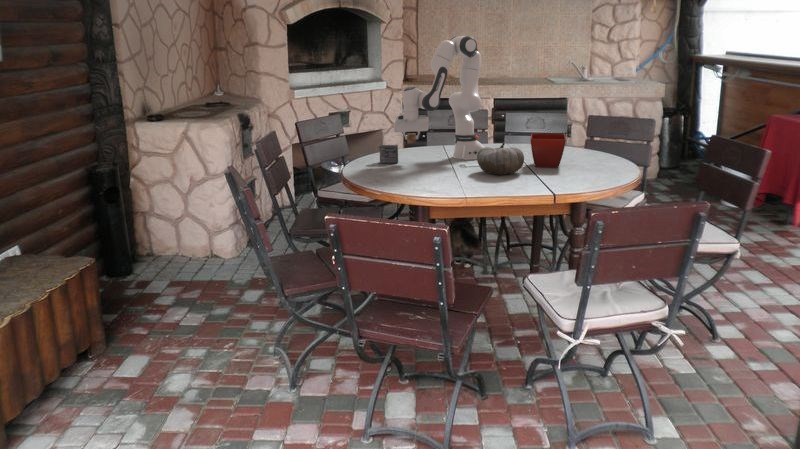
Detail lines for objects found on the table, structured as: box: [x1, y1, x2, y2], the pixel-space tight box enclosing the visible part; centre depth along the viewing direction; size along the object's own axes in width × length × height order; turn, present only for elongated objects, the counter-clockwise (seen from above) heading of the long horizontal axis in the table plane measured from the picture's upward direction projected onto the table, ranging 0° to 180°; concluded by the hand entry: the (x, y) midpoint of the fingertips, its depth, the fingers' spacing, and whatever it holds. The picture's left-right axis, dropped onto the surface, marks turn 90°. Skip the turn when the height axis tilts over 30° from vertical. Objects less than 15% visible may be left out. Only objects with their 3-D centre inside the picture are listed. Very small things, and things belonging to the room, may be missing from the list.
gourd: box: [476, 142, 525, 176], centre depth 376 cm, size 25×25×17 cm
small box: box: [378, 144, 399, 165], centre depth 410 cm, size 11×6×10 cm, turn 84°
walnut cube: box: [406, 132, 417, 144], centre depth 406 cm, size 5×5×5 cm
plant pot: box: [530, 132, 567, 169], centre depth 393 cm, size 19×19×17 cm
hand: (411, 139), depth 406 cm, fingers closed on walnut cube, 5 cm apart
